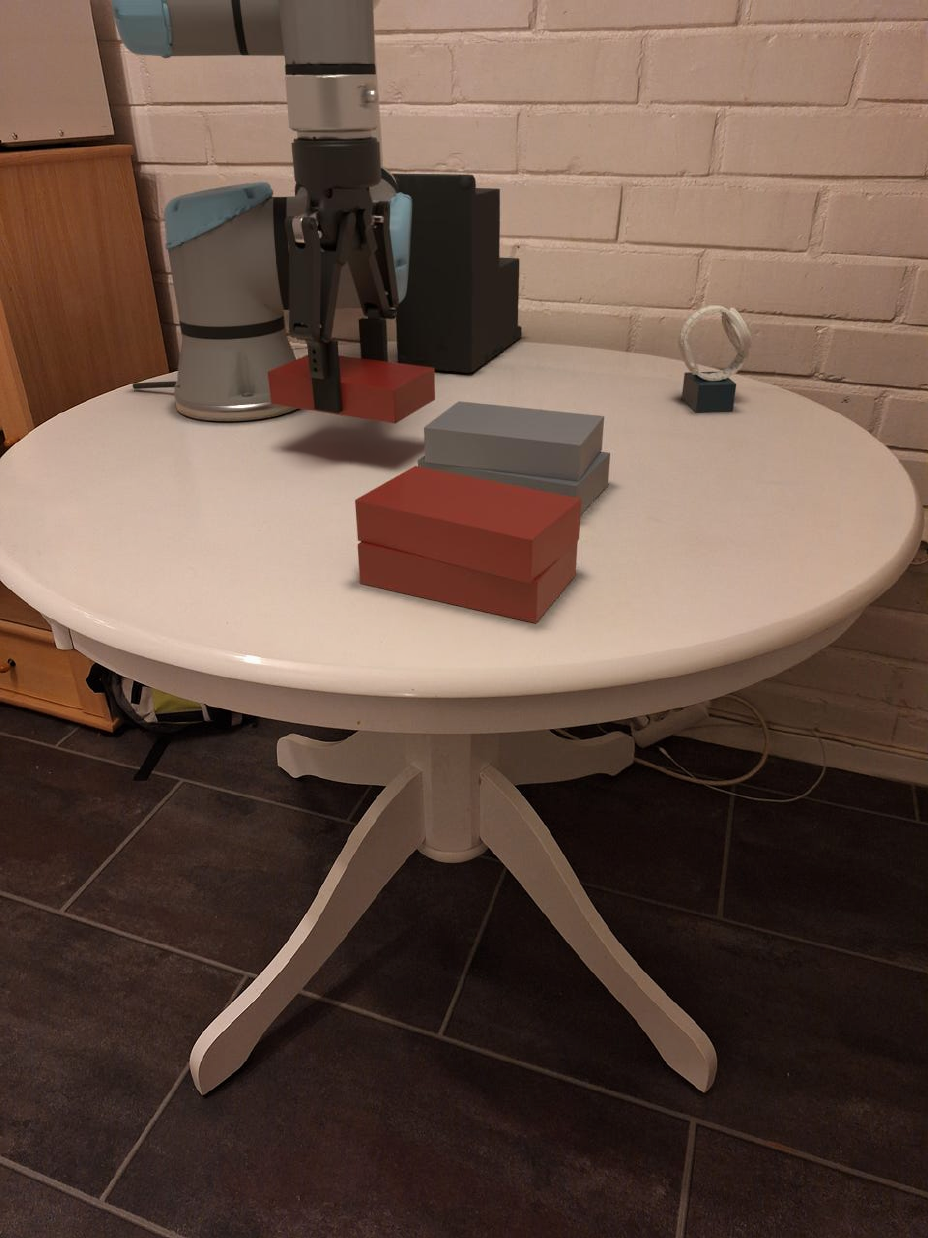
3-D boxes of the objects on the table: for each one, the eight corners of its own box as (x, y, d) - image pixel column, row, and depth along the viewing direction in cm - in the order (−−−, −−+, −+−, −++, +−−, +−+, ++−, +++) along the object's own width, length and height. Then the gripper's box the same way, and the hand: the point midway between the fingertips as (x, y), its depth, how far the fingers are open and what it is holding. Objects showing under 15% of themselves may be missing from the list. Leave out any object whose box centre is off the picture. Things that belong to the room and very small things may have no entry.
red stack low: (359, 583, 67) (357, 544, 65) (411, 542, 73) (410, 505, 72) (536, 623, 62) (537, 581, 60) (576, 575, 68) (578, 536, 66)
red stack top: (357, 540, 66) (354, 499, 64) (416, 503, 72) (415, 465, 70) (530, 583, 60) (532, 539, 58) (579, 539, 66) (581, 498, 64)
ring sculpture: (749, 410, 104) (764, 310, 98) (680, 412, 103) (691, 312, 98) (732, 397, 108) (746, 301, 103) (666, 398, 108) (676, 302, 103)
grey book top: (424, 462, 80) (423, 427, 79) (458, 433, 87) (458, 401, 85) (578, 481, 76) (580, 444, 74) (602, 450, 83) (604, 415, 81)
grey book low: (418, 493, 82) (417, 459, 81) (461, 462, 89) (461, 430, 88) (574, 521, 77) (576, 485, 75) (607, 485, 84) (610, 452, 82)
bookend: (456, 333, 140) (453, 162, 128) (523, 337, 137) (527, 163, 125) (395, 369, 121) (386, 173, 109) (472, 376, 118) (471, 174, 106)
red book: (270, 404, 89) (266, 371, 87) (316, 382, 95) (314, 351, 93) (395, 423, 83) (393, 389, 82) (435, 399, 90) (434, 367, 88)
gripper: (301, 142, 68) (326, 435, 80) (430, 129, 84) (436, 374, 96) (221, 140, 71) (256, 423, 82) (361, 128, 87) (374, 366, 98)
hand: (353, 397), depth 89 cm, fingers closed on red book, 8 cm apart
